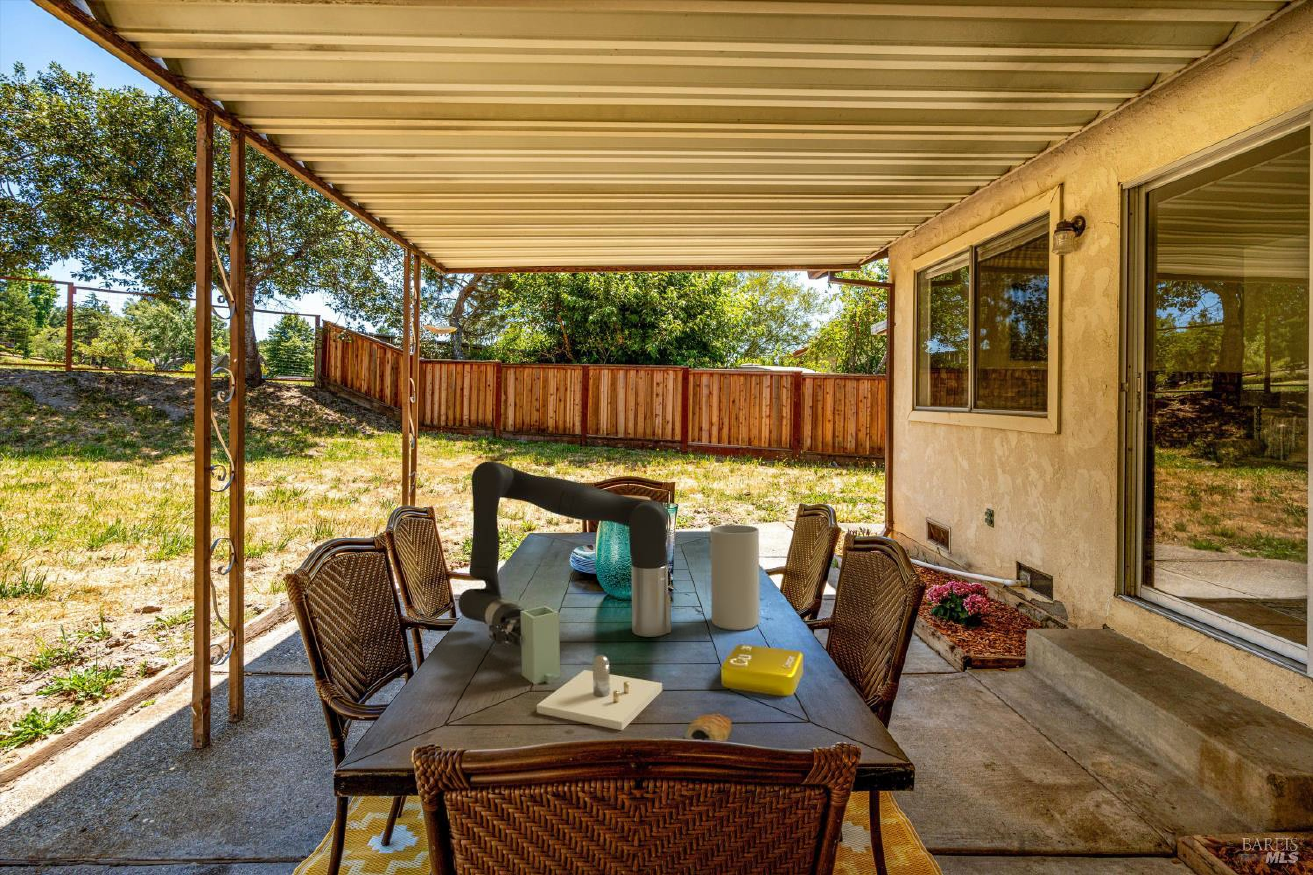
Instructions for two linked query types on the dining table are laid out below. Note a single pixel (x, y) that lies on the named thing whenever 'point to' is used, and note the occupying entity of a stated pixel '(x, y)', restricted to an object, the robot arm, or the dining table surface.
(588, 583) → the dining table surface
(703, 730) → the pastry
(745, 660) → the element tile
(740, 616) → the cylinder vase
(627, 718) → the base plate
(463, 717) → the dining table surface
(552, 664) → the hollow square tube
